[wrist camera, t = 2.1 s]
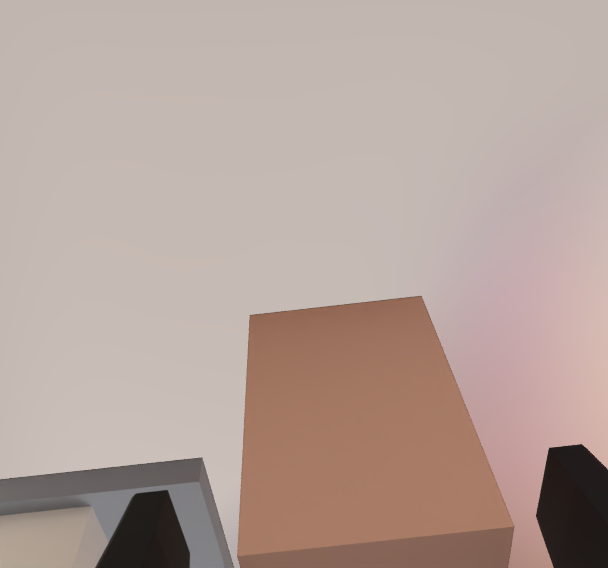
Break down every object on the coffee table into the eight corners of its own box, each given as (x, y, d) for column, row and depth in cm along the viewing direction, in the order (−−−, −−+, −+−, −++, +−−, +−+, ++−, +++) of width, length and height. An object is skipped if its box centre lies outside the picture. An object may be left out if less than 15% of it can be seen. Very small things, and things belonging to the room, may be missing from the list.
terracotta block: (421, 295, 13) (514, 526, 8) (420, 418, 15) (492, 661, 10) (250, 314, 13) (237, 555, 8) (272, 435, 15) (273, 685, 10)
